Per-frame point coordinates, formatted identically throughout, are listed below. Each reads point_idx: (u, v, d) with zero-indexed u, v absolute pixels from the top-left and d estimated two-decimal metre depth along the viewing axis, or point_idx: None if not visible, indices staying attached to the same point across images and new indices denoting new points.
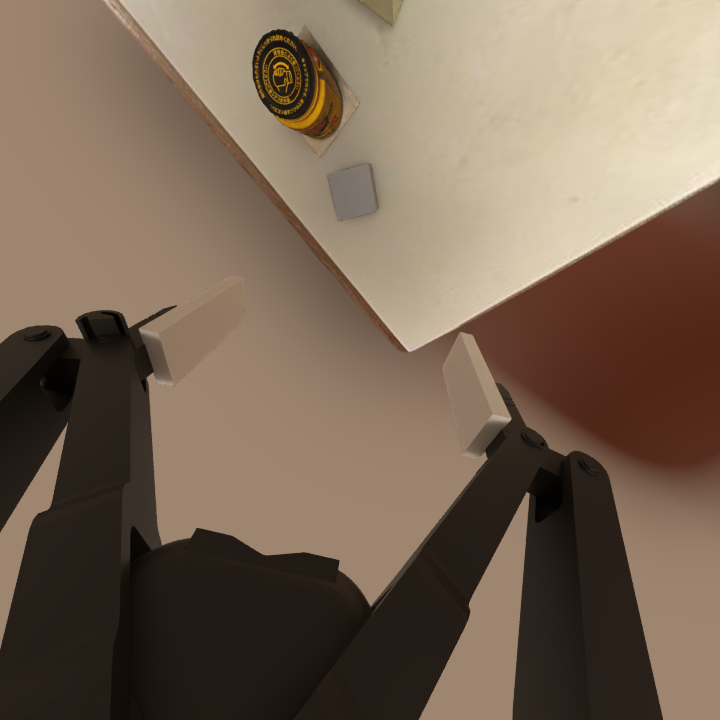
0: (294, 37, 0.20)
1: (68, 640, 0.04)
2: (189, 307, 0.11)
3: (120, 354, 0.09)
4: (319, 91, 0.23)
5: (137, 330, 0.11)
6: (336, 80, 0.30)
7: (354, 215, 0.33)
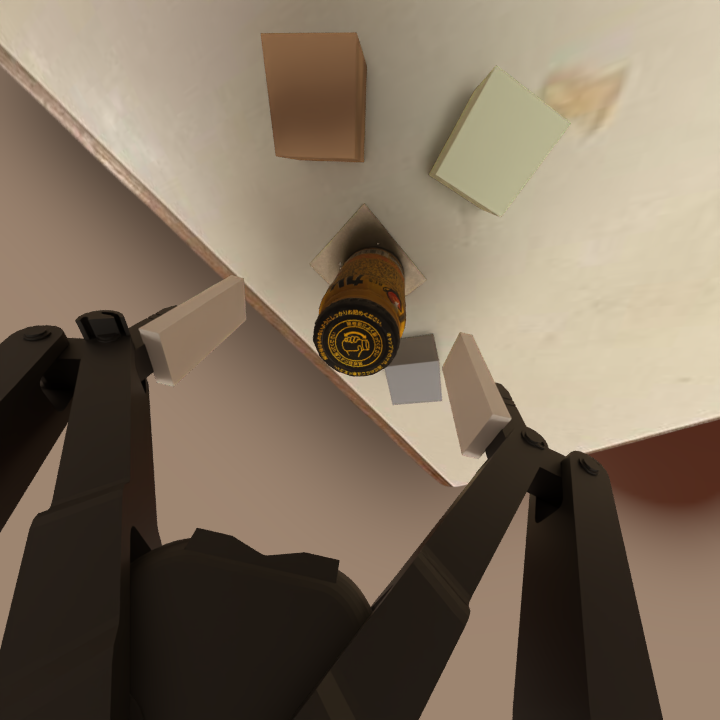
0: (379, 312, 0.14)
1: (68, 640, 0.04)
2: (189, 307, 0.11)
3: (120, 354, 0.09)
4: None
5: (137, 330, 0.11)
6: (399, 257, 0.23)
7: (413, 401, 0.27)
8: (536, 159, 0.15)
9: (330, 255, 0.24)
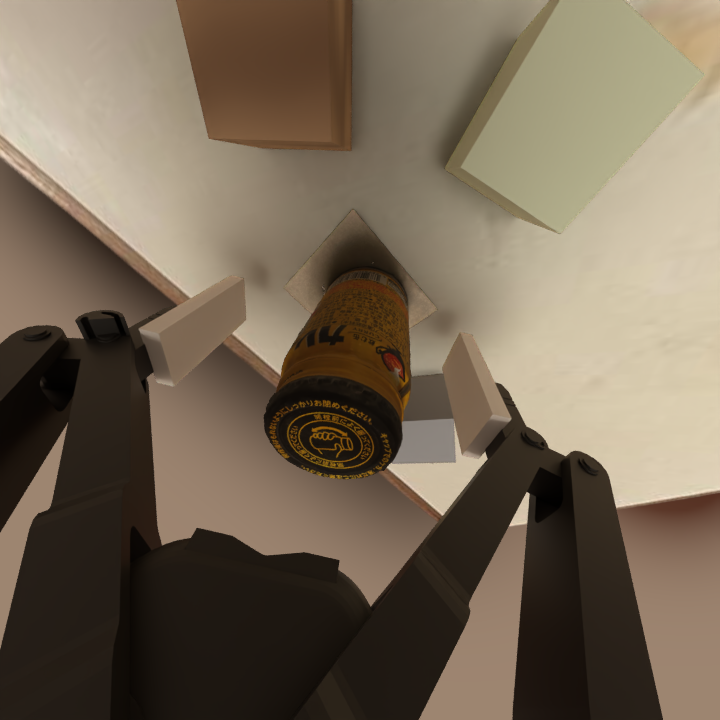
0: (368, 404, 0.08)
1: (68, 640, 0.04)
2: (189, 307, 0.11)
3: (120, 354, 0.09)
4: None
5: (137, 330, 0.11)
6: (401, 280, 0.17)
7: (419, 461, 0.21)
8: (631, 141, 0.09)
9: (310, 277, 0.18)
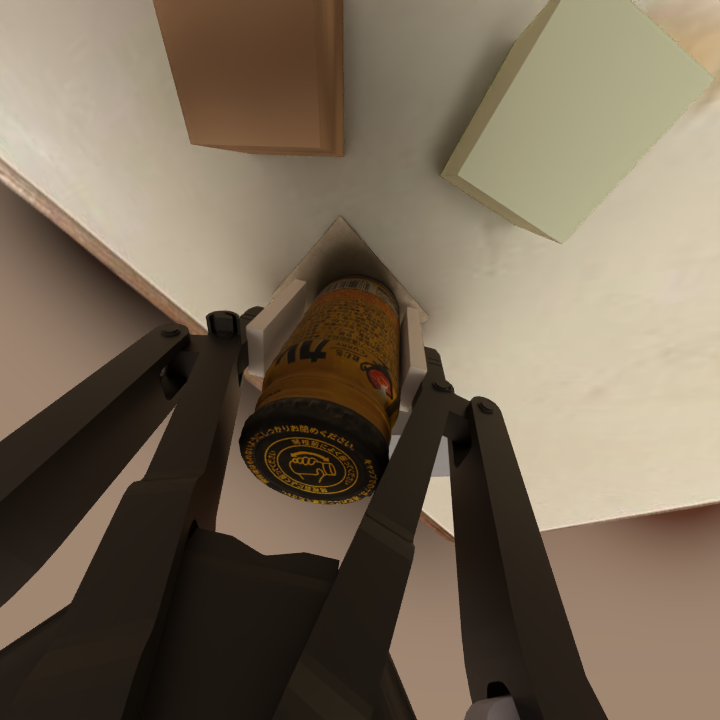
0: (349, 429, 0.08)
1: (68, 640, 0.04)
2: (275, 308, 0.13)
3: (229, 350, 0.10)
4: None
5: None
6: (392, 288, 0.17)
7: None
8: (637, 148, 0.08)
9: None
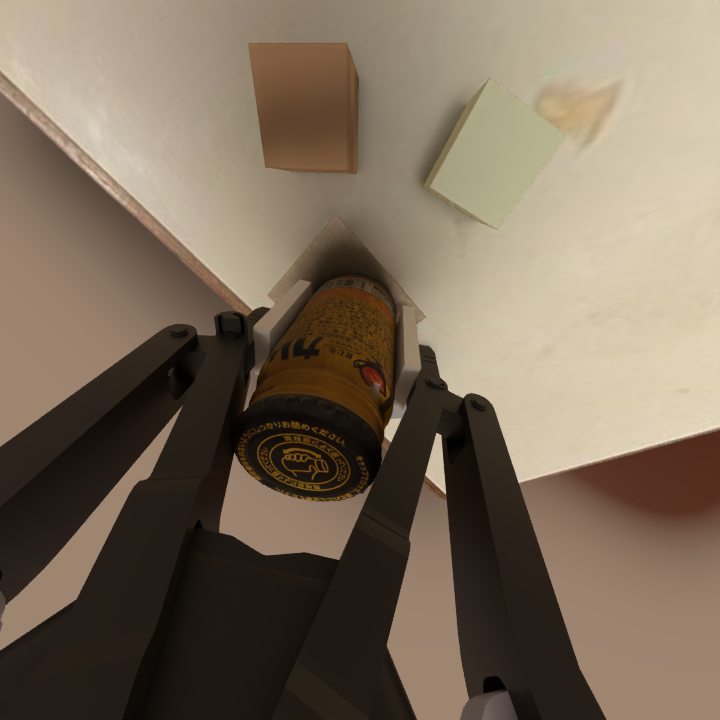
0: (340, 426, 0.08)
1: (68, 640, 0.04)
2: (281, 308, 0.13)
3: (236, 351, 0.10)
4: None
5: None
6: (388, 287, 0.17)
7: None
8: (532, 172, 0.15)
9: None
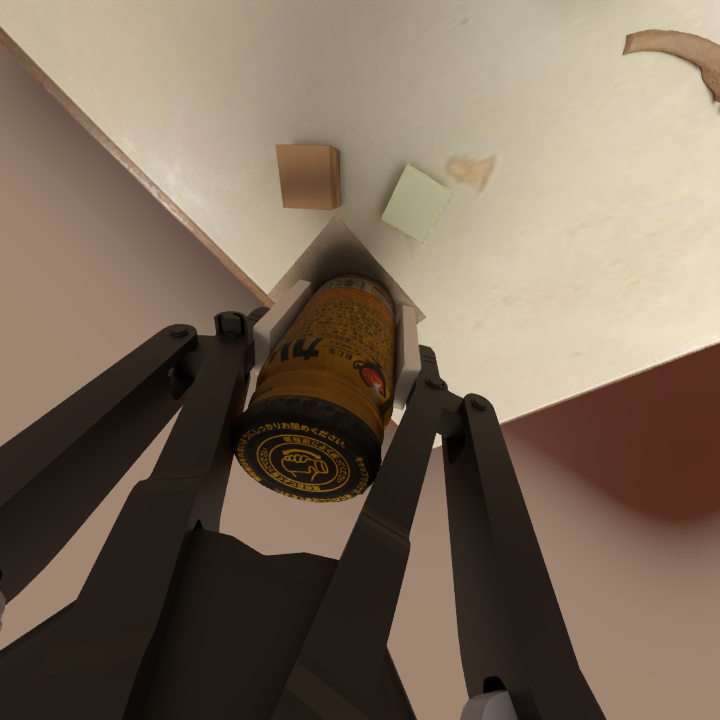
0: (340, 427, 0.08)
1: (68, 640, 0.04)
2: (281, 308, 0.13)
3: (236, 351, 0.10)
4: None
5: None
6: (388, 287, 0.17)
7: None
8: (438, 211, 0.25)
9: (294, 284, 0.18)
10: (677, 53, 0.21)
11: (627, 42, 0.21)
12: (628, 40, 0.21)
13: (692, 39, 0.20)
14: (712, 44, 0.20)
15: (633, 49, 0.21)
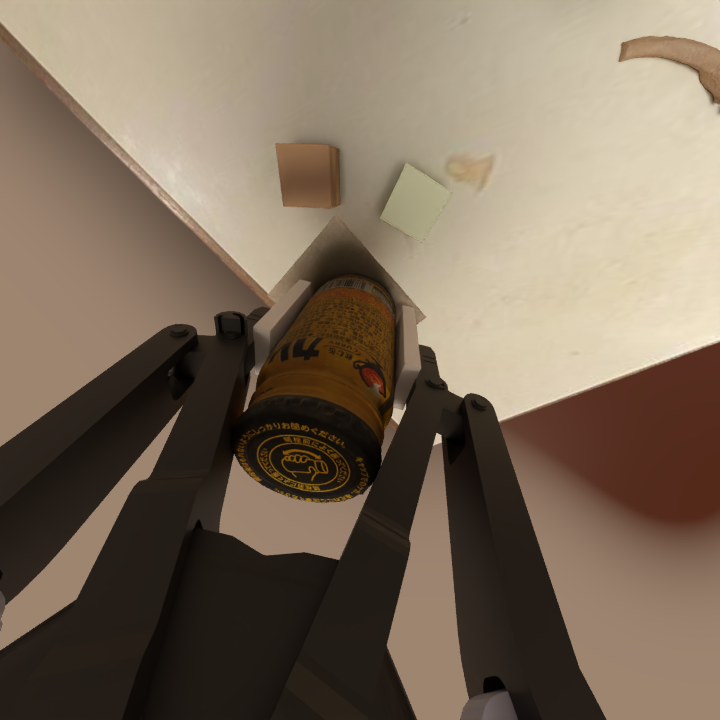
0: (340, 427, 0.08)
1: (68, 640, 0.04)
2: (281, 308, 0.13)
3: (236, 351, 0.10)
4: None
5: None
6: (388, 287, 0.17)
7: None
8: (436, 210, 0.25)
9: (294, 284, 0.18)
10: (673, 58, 0.21)
11: (622, 50, 0.21)
12: (623, 48, 0.21)
13: (688, 44, 0.21)
14: (708, 48, 0.20)
15: (629, 56, 0.21)
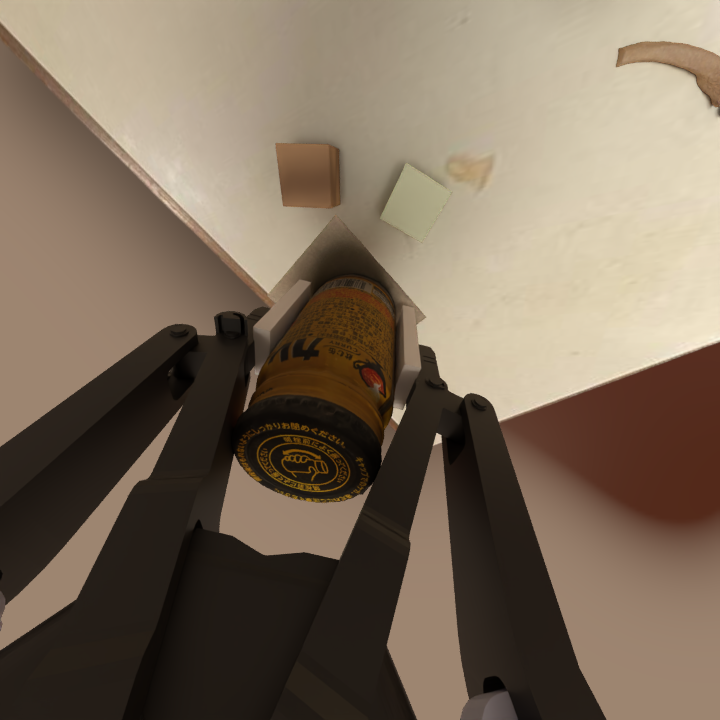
0: (340, 427, 0.08)
1: (68, 640, 0.04)
2: (281, 308, 0.13)
3: (236, 351, 0.10)
4: None
5: None
6: (388, 287, 0.17)
7: None
8: (436, 210, 0.25)
9: (294, 284, 0.18)
10: (670, 62, 0.21)
11: (619, 55, 0.22)
12: (620, 53, 0.22)
13: (684, 49, 0.21)
14: (705, 52, 0.21)
15: (626, 62, 0.22)
